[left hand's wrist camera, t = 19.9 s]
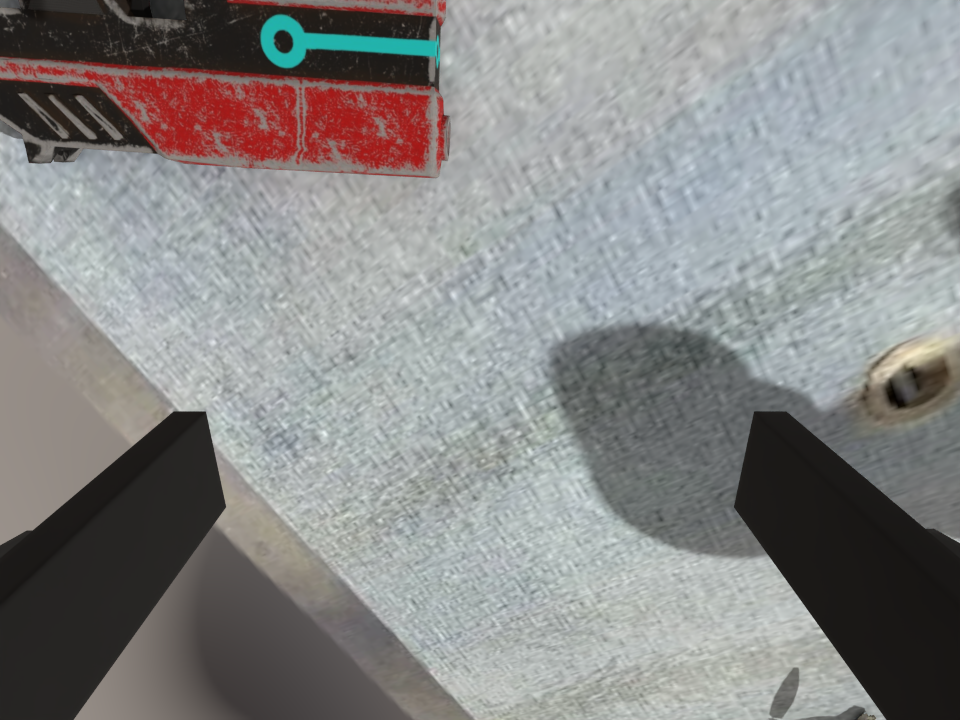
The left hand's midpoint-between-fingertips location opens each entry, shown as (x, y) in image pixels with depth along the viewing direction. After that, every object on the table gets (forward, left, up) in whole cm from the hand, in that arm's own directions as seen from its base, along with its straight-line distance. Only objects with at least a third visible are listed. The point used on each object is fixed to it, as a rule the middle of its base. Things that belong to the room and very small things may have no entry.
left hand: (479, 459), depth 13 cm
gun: (-9, -21, -31) cm, 38 cm away
